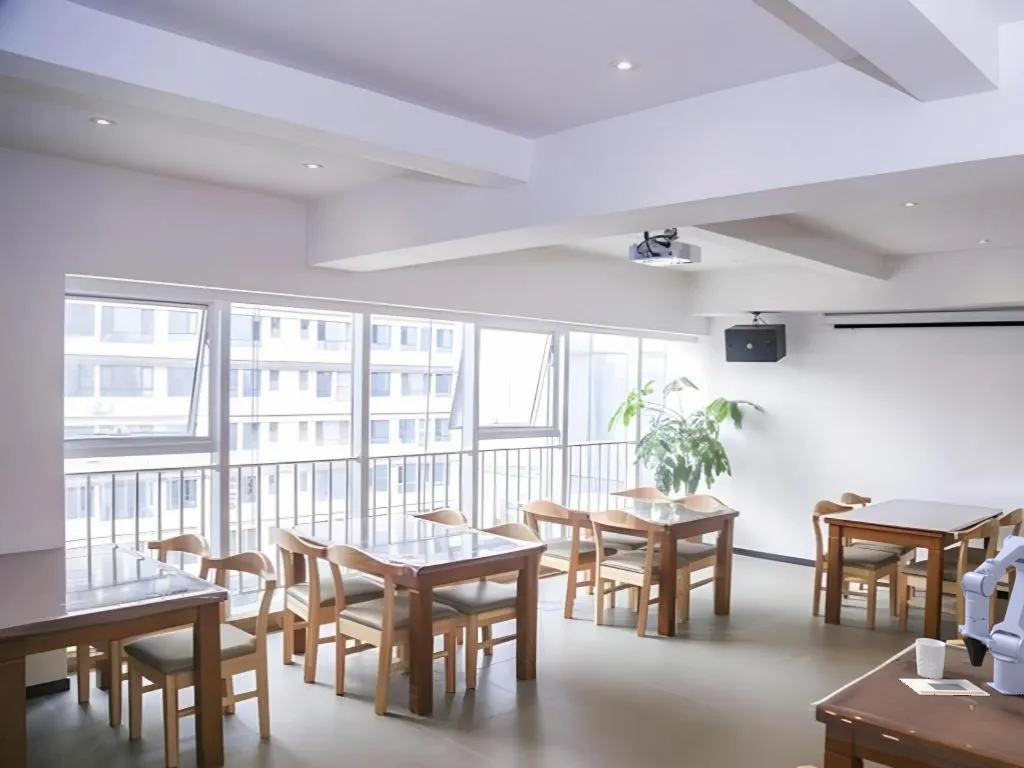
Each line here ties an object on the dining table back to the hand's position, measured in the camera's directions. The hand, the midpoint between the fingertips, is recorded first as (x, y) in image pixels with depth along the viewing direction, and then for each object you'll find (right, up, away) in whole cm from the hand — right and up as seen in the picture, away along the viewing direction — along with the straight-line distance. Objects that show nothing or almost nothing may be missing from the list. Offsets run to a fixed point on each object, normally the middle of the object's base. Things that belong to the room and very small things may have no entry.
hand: (976, 665), depth 222 cm
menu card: (-4, -9, +9) cm, 14 cm away
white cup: (-3, -10, +19) cm, 21 cm away
